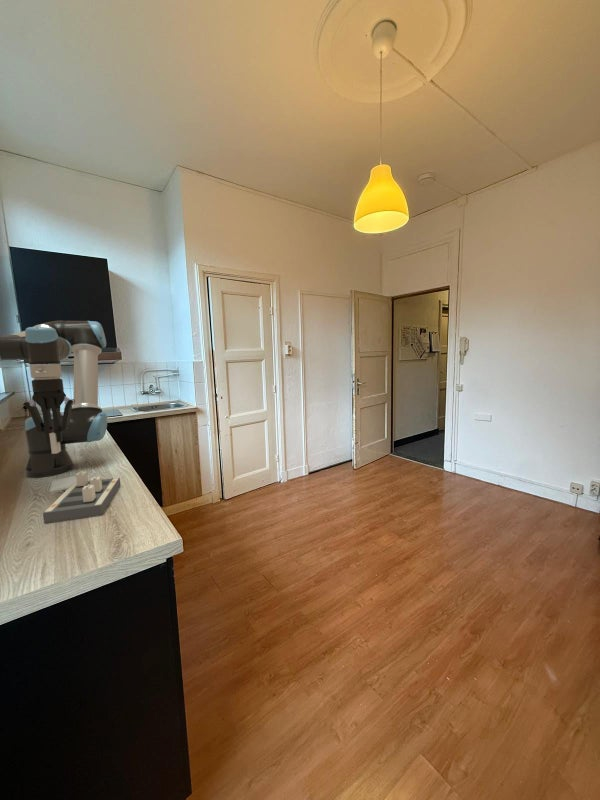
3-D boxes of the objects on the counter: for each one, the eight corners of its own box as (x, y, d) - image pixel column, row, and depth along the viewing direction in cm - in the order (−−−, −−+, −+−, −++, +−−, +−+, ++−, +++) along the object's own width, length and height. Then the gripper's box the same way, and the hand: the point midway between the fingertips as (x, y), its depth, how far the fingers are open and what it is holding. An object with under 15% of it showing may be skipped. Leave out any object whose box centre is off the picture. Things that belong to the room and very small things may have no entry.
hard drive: (52, 480, 115) (49, 491, 105) (79, 475, 120) (78, 485, 110) (52, 484, 116) (49, 496, 105) (79, 479, 120) (79, 490, 110)
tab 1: (79, 483, 105) (78, 471, 104) (88, 482, 106) (86, 470, 105) (77, 486, 103) (75, 473, 102) (85, 485, 104) (84, 472, 103)
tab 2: (86, 498, 94) (84, 484, 93) (95, 497, 94) (94, 483, 94) (83, 502, 91) (81, 487, 91) (93, 501, 92) (91, 486, 91)
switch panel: (74, 491, 107) (73, 482, 107) (120, 485, 112) (119, 477, 111) (44, 523, 87) (42, 512, 86) (102, 514, 91) (101, 504, 90)
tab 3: (93, 489, 100) (92, 476, 100) (102, 488, 101) (100, 475, 100) (91, 492, 98) (89, 479, 97) (100, 491, 99) (98, 478, 98)
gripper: (14, 380, 92) (25, 458, 95) (66, 378, 96) (75, 453, 99) (27, 378, 99) (37, 451, 102) (76, 377, 103) (84, 447, 106)
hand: (56, 452), depth 101 cm, fingers closed
